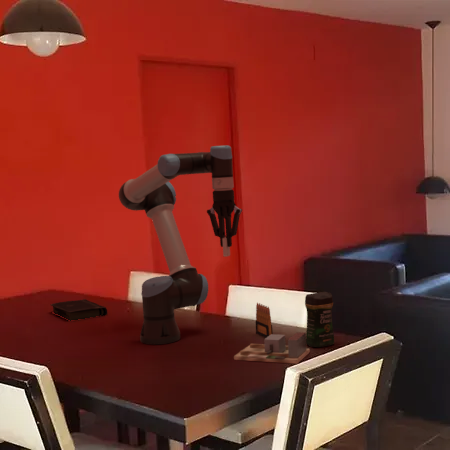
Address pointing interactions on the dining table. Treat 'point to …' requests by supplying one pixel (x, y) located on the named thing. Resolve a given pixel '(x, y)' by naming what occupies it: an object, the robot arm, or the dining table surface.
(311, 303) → the coffee jar
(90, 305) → the diary
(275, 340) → the grey rectangular block
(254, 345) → the board
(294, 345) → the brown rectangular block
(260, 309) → the ammunition clip
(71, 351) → the dining table surface
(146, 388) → the dining table surface
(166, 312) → the robot arm
